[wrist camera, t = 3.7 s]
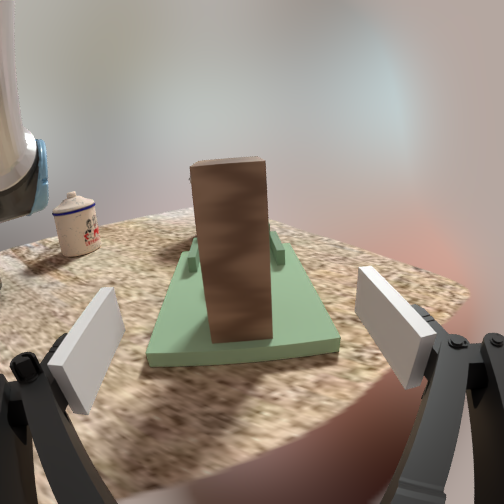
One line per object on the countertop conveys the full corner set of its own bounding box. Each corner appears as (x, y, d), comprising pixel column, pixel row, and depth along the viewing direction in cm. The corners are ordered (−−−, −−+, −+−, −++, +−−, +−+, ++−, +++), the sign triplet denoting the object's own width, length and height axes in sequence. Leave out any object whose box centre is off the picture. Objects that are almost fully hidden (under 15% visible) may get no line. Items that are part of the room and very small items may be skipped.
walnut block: (211, 343, 25) (189, 166, 20) (214, 307, 30) (198, 160, 25) (272, 338, 25) (265, 160, 20) (265, 303, 31) (257, 156, 26)
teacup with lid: (95, 254, 52) (84, 192, 48) (54, 260, 51) (41, 200, 46) (110, 235, 63) (102, 183, 59) (74, 241, 62) (65, 190, 57)
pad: (150, 366, 24) (135, 317, 22) (183, 260, 47) (179, 229, 45) (339, 351, 25) (344, 300, 23) (289, 252, 47) (288, 220, 46)
